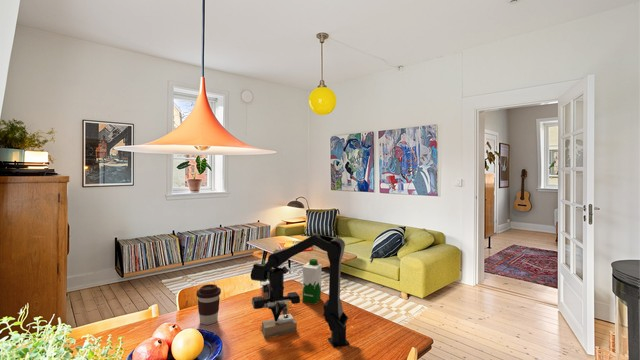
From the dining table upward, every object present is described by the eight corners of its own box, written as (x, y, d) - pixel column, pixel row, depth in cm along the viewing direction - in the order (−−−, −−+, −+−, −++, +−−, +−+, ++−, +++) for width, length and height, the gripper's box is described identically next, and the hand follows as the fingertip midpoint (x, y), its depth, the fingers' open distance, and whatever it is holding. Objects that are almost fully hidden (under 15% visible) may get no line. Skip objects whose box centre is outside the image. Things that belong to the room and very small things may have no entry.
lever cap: (293, 321, 132) (293, 317, 132) (278, 324, 130) (279, 319, 130) (290, 317, 136) (290, 312, 136) (276, 319, 134) (276, 314, 134)
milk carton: (322, 298, 166) (323, 259, 165) (316, 305, 157) (316, 264, 156) (306, 296, 169) (307, 258, 168) (299, 302, 160) (300, 262, 159)
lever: (289, 304, 143) (289, 301, 143) (289, 308, 139) (289, 304, 139) (257, 305, 142) (257, 301, 142) (256, 308, 138) (256, 305, 138)
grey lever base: (296, 332, 131) (297, 317, 131) (264, 338, 127) (264, 322, 127) (288, 319, 143) (289, 305, 143) (258, 323, 138) (258, 309, 138)
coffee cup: (195, 328, 134) (195, 292, 133) (197, 317, 143) (197, 283, 143) (220, 325, 137) (220, 290, 136) (220, 314, 146) (221, 281, 145)
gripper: (293, 274, 142) (292, 309, 142) (249, 278, 135) (249, 315, 135) (300, 282, 131) (300, 320, 132) (254, 288, 124) (253, 328, 125)
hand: (275, 320), depth 131 cm, fingers closed
